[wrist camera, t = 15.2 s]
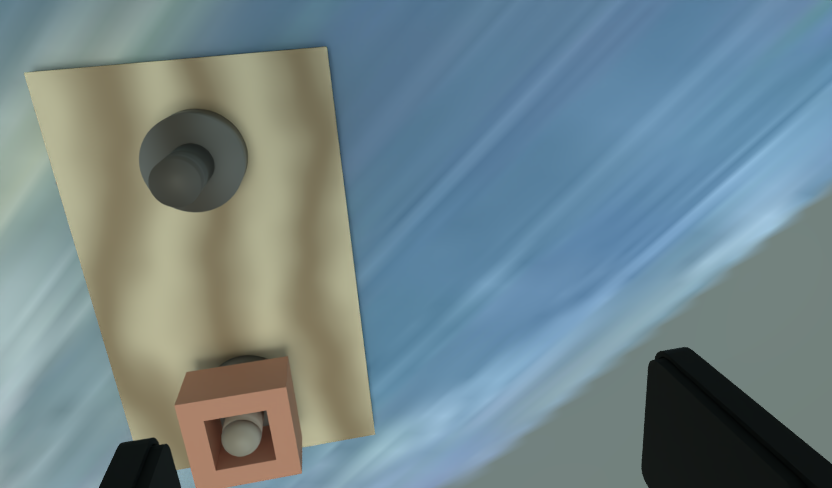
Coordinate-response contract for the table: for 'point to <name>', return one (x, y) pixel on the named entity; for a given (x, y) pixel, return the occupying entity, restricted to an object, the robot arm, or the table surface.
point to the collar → (231, 396)
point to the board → (212, 231)
